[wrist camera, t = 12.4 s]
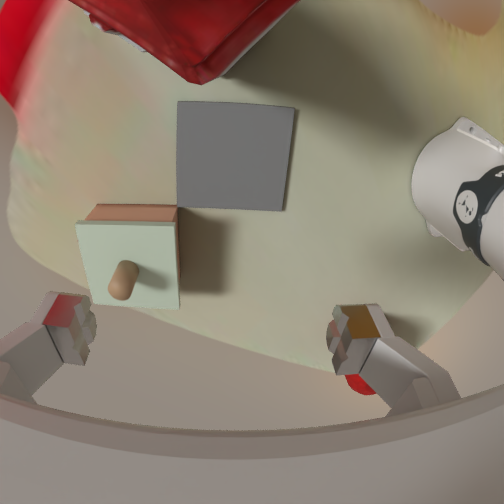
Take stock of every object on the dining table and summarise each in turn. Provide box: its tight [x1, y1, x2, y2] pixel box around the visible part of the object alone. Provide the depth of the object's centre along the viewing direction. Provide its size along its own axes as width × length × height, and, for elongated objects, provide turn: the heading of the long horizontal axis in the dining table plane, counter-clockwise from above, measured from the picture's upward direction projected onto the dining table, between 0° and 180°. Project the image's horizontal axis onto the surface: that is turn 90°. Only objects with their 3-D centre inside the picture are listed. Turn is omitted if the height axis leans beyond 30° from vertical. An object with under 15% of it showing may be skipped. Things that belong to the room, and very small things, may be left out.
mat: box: [176, 101, 295, 211], centre depth 36 cm, size 13×13×1 cm
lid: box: [75, 220, 180, 310], centre depth 35 cm, size 12×12×5 cm
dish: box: [85, 204, 181, 281], centre depth 39 cm, size 11×11×6 cm
